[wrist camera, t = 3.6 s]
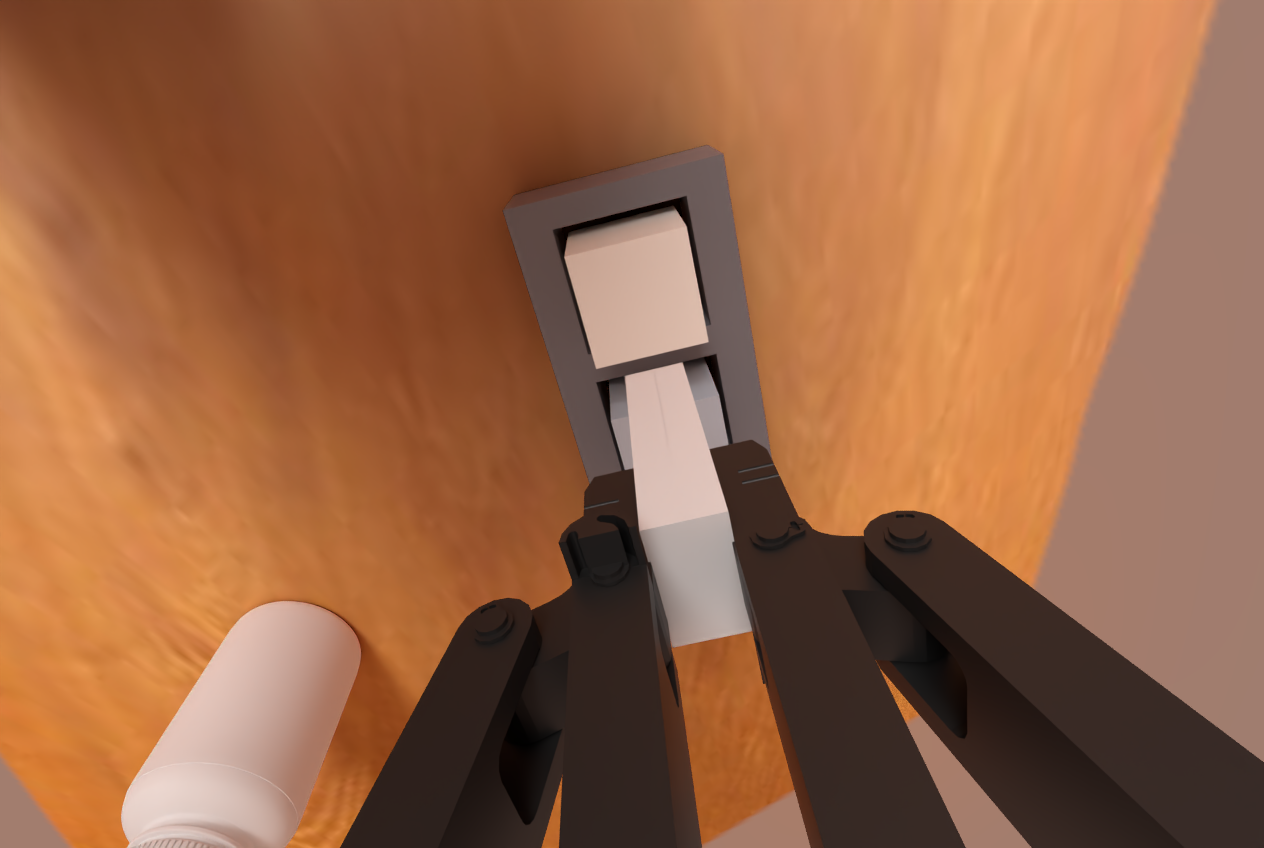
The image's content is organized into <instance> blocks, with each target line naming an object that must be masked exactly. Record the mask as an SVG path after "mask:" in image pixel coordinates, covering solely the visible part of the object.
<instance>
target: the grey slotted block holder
mask: <svg viewBox="0 0 1264 848" xmlns="http://www.w3.org/2000/svg"><path fill="white" fill-rule="evenodd" d="M676 198H679V201H680V206H681V211H682V216H683V221H684V223H685V225H686V227H687V232H688V237H689V242H690V247H691V253H692V258H693V263H694V268H695V273H696V278H697V284H698V289H699V294H700V299H701V304H702V310H703V315H704V320H705V325H706V330H707V336H708V341H709V342H707V343H703V344H699V345H694V346H690V347H686V348H682V349H678V350H674V351H669V352H665V353H661V354H657V355H653V356H648V357H644V358H640V359H636V360H632V361H628V362H623V363H619V364H615V365H611V366H607V367H603V368H598V369H596V367H595V363H594V360H593V356H592V353H591V349H590V346H589V342H588V339H587V335H586V332H585V328H584V324H583V321H582V317H581V314H580V310H579V307H578V303H577V300H576V296H575V293H574V289H573V286H572V282H571V279H570V275H569V272H568V268H567V265H566V261H565V258H564V256H565V250H566V242H565V239H564V235H563V231H562V227H566V226H570V225H574V224H577V223H581V222H585V221H589V220H593V219H597V218H601V217H605V216H609V215H613V214H617V213H621V212H625V211H629V210H633V209H636V208H640V207H644V206H648V205H652V204H656V203H660V202H664V201H668V200H672V199H676ZM503 213H504V216H505V220H506V223H507V226H508V229H509V232H510V235H511V238H512V242H513V245H514V248H515V251H516V254H517V257H518V260H519V264H520V267H521V270H522V273H523V276H524V279H525V282H526V286H527V289H528V292H529V295H530V298H531V301H532V304H533V308H534V311H535V314H536V317H537V320H538V323H539V326H540V330H541V333H542V336H543V339H544V342H545V345H546V348H547V352H548V355H549V358H550V361H551V364H552V367H553V370H554V374H555V377H556V380H557V383H558V386H559V389H560V392H561V396H562V399H563V402H564V405H565V408H566V411H567V414H568V417H569V421H570V424H571V427H572V430H573V433H574V436H575V439H576V443H577V446H578V449H579V452H580V455H581V458H582V461H583V465H584V468H585V471H586V474H587V477H588V480H589V483H591V481H592V480H593V478H594V477H596V476H601V475H605V474H610V473H614V472H618V471H623V470H625V469H624V465H623V461H622V458H621V454H620V451H619V447H618V444H617V440H616V437H615V433H614V430H613V426H612V423H611V413H610V399H609V395H608V392H607V388H606V385H605V381H604V380H609V379H613V378H617V377H621V376H625V375H630V374H634V373H638V372H642V371H646V370H651V369H655V368H659V367H663V366H667V365H672V364H676V363H680V362H684V361H688V360H693V359H697V358H701V357H705V356H709V355H710V361H711V366H712V371H713V376H714V381H715V386H716V389H717V392H718V394H719V398H720V403H721V408H722V414H723V419H724V424H725V429H726V434H727V439H728V445H730V444H734V443H738V442H743V441H747V440H754V441H755V442H757V443H758V444H760V445H761V446H763V447H765V448H766V449H767V450H768V452H769V455H770V457H771V451H770V445H769V439H768V432H767V426H766V420H765V413H764V407H763V401H762V395H761V388H760V382H759V376H758V369H757V363H756V357H755V350H754V344H753V338H752V331H751V325H750V319H749V313H748V306H747V300H746V294H745V287H744V281H743V275H742V268H741V262H740V256H739V249H738V243H737V237H736V231H735V224H734V218H733V212H732V205H731V199H730V193H729V186H728V180H727V174H726V167H725V161H724V155H723V153H721V152H719V151H718V150H716V149H714V148H712V147H711V146H709V145H705V146H701V147H698V148H694V149H690V150H686V151H682V152H678V153H674V154H671V155H667V156H663V157H659V158H655V159H651V160H647V161H644V162H640V163H636V164H632V165H628V166H624V167H620V168H616V169H613V170H609V171H605V172H601V173H597V174H593V175H589V176H586V177H582V178H578V179H574V180H570V181H566V182H562V183H559V184H555V185H551V186H547V187H543V188H539V189H535V190H532V191H528V192H524V193H520V194H516V195H513V197H512V198H511V199H510V201H509V202H508V204H507V205H506V206H505V208H504V209H503ZM771 459H772V458H771Z"/></svg>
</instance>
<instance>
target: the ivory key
mask: <svg viewBox="0 0 1264 848" xmlns="http://www.w3.org/2000/svg"><path fill="white" fill-rule="evenodd" d="M564 258H565V261H566V265H567V268H568V272H569V275H570V279H571V282H572V286H573V289H574V293H575V296H576V300H577V303H578V307H579V310H580V314H581V317H582V321H583V324H584V328H585V332H586V335H587V339H588V342H589V346H590V349H591V353H592V356H593V360H594V363H595V367H596V369H598V368H603V367H607V366H611V365H615V364H619V363H623V362H628V361H632V360H636V359H640V358H644V357H648V356H653V355H657V354H661V353H665V352H669V351H674V350H678V349H682V348H686V347H690V346H694V345H699V344H703V343H707V342H709V341H708V336H707V330H706V325H705V320H704V315H703V310H702V304H701V299H700V294H699V289H698V284H697V278H696V273H695V268H694V263H693V258H692V253H691V247H690V242H689V237H688V232H687V227H686V225H685V223H684V222H683V220H682V218H681V217H680V215H679V214H678V212H677V210H676V209H675V207H674V206H670V207H666V208H662V209H658V210H654V211H650V212H646V213H642V214H638V215H634V216H630V217H626V218H622V219H618V220H614V221H610V222H606V223H603V224H599V225H595V226H591V227H587V228H583V229H579V230H575V231H571V232H569V233H568V239H567V244H566V250H565V256H564Z"/></svg>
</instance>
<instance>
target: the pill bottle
mask: <svg viewBox="0 0 1264 848" xmlns="http://www.w3.org/2000/svg"><path fill="white" fill-rule="evenodd" d="M360 661H361V648H360V644H359V641H358V638H357V636H356V634H355V633H354V631H353V630H352V629H351V627H350V626H349V625H348V624H347V623H346V622H345V621H344V620H342V619H341V618H340V617H338V616H337V615H335V614H334V613H332V612H330V611H328V610H326V609H324V608H321V607H319V606H316V605H312V604H308V603H304V602H296V601H279V602H272V603H267V604H264V605H261V606H259V607H256V608H254V609H252V610H251V611H249V612H247V613H246V614H245V615H244V616H242V617H241V618H240V619H239V620H238V621H237V623H236V624H235V625H234V626H233V627H232V629H231V630H230V631H229V633H228V634H227V636H226V637H225V639H224V641H223V642H222V644H221V645H220V647H219V648H218V650H217V651H216V653H215V654H214V656H213V658H212V659H211V661H210V662H209V664H208V665H207V667H206V668H205V670H204V672H203V673H202V675H201V676H200V678H199V679H198V681H197V682H196V684H195V685H194V687H193V689H192V690H191V692H190V693H189V695H188V696H187V698H186V699H185V701H184V703H183V704H182V706H181V707H180V709H179V710H178V712H177V713H176V715H175V717H174V718H173V720H172V721H171V723H170V724H169V726H168V727H167V729H166V730H165V732H164V734H163V735H162V737H161V738H160V740H159V741H158V743H157V744H156V746H155V748H154V749H153V751H152V752H151V754H150V755H149V757H148V758H147V760H146V761H145V763H144V765H143V766H142V768H141V769H140V771H139V772H138V774H137V775H136V777H135V779H134V780H133V782H132V784H131V785H130V787H129V789H128V791H127V793H126V796H125V800H124V803H123V807H122V815H121V819H122V827H123V830H124V833H125V835H126V837H127V839H128V841H129V842H130V844H129V845H128V847H127V848H285V847H286V846H287V844H288V843H289V842H290V840H291V839H292V838H293V836H294V834H295V833H296V831H297V828H298V826H299V824H300V821H301V819H302V816H303V814H304V811H305V808H306V806H307V803H308V801H309V798H310V795H311V793H312V790H313V788H314V785H315V782H316V780H317V777H318V775H319V772H320V769H321V767H322V764H323V762H324V759H325V756H326V754H327V751H328V748H329V746H330V743H331V741H332V738H333V735H334V733H335V730H336V728H337V725H338V722H339V720H340V717H341V715H342V712H343V709H344V707H345V704H346V702H347V699H348V696H349V694H350V691H351V689H352V686H353V683H354V681H355V678H356V676H357V673H358V669H359V665H360Z"/></svg>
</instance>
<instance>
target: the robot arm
mask: <svg viewBox="0 0 1264 848" xmlns="http://www.w3.org/2000/svg"><path fill="white" fill-rule="evenodd" d="M625 382H626V393H627V404H628V414H629V425H630V436H631V447H632V457H633V468H632V469H627V470H623V471H618V472H614V473H610V474H605V475H601V476H596V477H594V478H593V480H592V481H591V483H590V484H589V486H588V488H587V489H586V491H585V496H584V508H585V510H584V516H583V517H582V518H580V519H578V520H577V521H575V522H573V523H572V524H570V526H569V527H568V528H567V529H566V530H565V531H564V532H563V533H562V535H561V538H560V541H559V545H560V548H561V551H562V554H563V556H564V559H565V562H566V565H567V568H568V570H569V573H570V576H571V579H572V586H571V587H570V589H568V590H567V591H566V592H564V593H563V594H562V595H561V596H559V597H557V598H555V599H554V600H552V601H550V602H548V603H546V604H544V605H542V606H539V607H537V608H535V609H533V610H531V609H530V607H529V605H528V604H526V603H525V602H523V601H522V600H520V599H512V598H505V599H500V600H494V601H492V602H490V603H487V604H485V605H483V606H481V607H479V608H478V609H476V610H475V611H474V612H472V613H471V614H470V615H469V616H467V617H466V619H465V620H464V621H463V623H462V624H461V625H460V626H459V628H458V630H457V631H456V633H455V635H454V637H453V639H452V641H451V643H450V644H449V646H448V648H447V650H446V652H445V654H444V656H443V657H442V659H441V661H440V663H439V665H438V667H437V669H436V670H435V672H434V674H433V676H432V678H431V680H430V682H429V683H428V685H427V687H426V689H425V691H424V693H423V695H422V696H421V698H420V700H419V702H418V704H417V706H416V708H415V709H414V711H413V713H412V715H411V717H410V719H409V721H408V722H407V724H406V726H405V728H404V730H403V732H402V734H401V735H400V737H399V739H398V741H397V743H396V745H395V747H394V748H393V750H392V752H391V754H390V756H389V758H388V760H387V761H386V763H385V765H384V767H383V769H382V771H381V773H380V774H379V776H378V778H377V780H376V782H375V784H374V786H373V787H372V789H371V791H370V793H369V795H368V797H367V799H366V800H365V802H364V804H363V806H362V808H361V810H360V812H359V813H358V815H357V817H356V819H355V821H354V823H353V825H352V826H351V828H350V830H349V832H348V834H347V836H346V838H345V839H344V841H343V843H342V845H341V847H340V848H541V847H542V843H543V840H544V837H545V833H546V830H547V826H548V823H549V819H550V816H551V812H552V809H553V805H554V802H555V798H556V795H557V792H558V788H559V785H560V781H561V778H562V798H561V818H560V839H559V848H702V844H701V837H700V829H699V822H698V815H697V808H696V801H695V794H694V786H693V779H692V772H691V765H690V758H689V750H688V743H687V736H686V729H685V722H684V715H683V707H682V700H681V693H680V686H679V679H678V672H677V668H676V664H675V661H674V657H673V654H672V650H671V643H672V647H673V648H674V647H678V646H683V645H688V644H693V643H698V642H702V641H707V640H712V639H717V638H722V637H726V636H731V635H736V634H741V633H746V632H750V631H753V636H754V641H755V646H756V651H757V655H758V660H759V665H760V670H761V675H762V680H763V684H766V688H767V691H768V695H769V698H770V702H771V706H772V709H773V713H774V716H775V720H776V724H777V727H778V731H779V734H780V738H781V742H782V745H783V749H784V752H785V756H786V760H787V763H788V767H789V771H790V774H791V778H792V781H793V785H794V789H795V792H796V796H797V799H798V803H799V807H800V810H801V814H802V817H803V821H804V824H805V828H806V832H807V835H808V839H809V843H810V846H811V848H966V847H965V846H964V843H963V841H962V839H961V837H960V835H959V833H958V831H957V829H956V827H955V824H954V822H953V821H952V818H951V816H950V814H949V812H948V810H947V808H946V806H945V804H944V802H943V800H942V797H941V795H940V793H939V791H938V789H937V787H936V785H935V783H934V781H933V779H932V777H931V775H930V772H929V770H928V768H927V766H926V764H925V762H924V760H923V758H922V756H921V754H920V752H919V750H918V748H917V745H916V744H915V741H914V739H913V737H912V735H911V733H910V731H909V729H908V727H907V725H906V723H905V720H904V718H903V716H902V714H901V712H900V710H899V708H898V706H897V704H896V702H895V700H894V698H893V695H892V693H891V691H890V689H889V687H888V685H887V683H886V681H885V679H884V677H883V675H882V673H881V671H880V669H881V670H882V671H883V672H884V673H885V675H886V676H887V677H888V678H889V679H890V680H891V682H892V683H893V684H894V685H895V686H896V688H897V689H898V690H899V691H900V692H901V693H902V695H903V696H904V697H905V698H906V699H907V701H908V702H909V703H910V704H911V705H912V706H913V708H914V709H915V710H916V711H917V712H918V714H919V715H920V716H921V717H922V718H923V719H924V721H925V722H926V723H927V724H928V725H929V726H930V728H931V729H932V730H933V731H934V732H935V734H936V735H937V736H938V737H939V738H940V740H941V741H942V742H943V743H944V744H945V745H946V747H947V748H948V749H949V750H950V751H951V753H952V754H953V755H954V756H955V757H956V759H957V760H958V761H959V762H960V763H961V764H962V766H963V767H964V768H965V769H966V770H967V771H968V773H969V774H970V775H971V776H972V777H973V779H974V780H975V781H976V782H977V783H978V785H979V786H980V787H981V788H982V789H983V790H984V792H985V793H986V794H987V795H988V796H989V798H990V799H991V800H992V801H993V802H994V803H995V805H996V806H997V807H998V808H999V809H1000V811H1001V812H1002V813H1003V814H1004V815H1005V817H1006V818H1007V819H1008V820H1009V821H1010V822H1011V824H1012V825H1013V826H1014V827H1015V828H1016V829H1017V831H1018V832H1019V833H1020V834H1021V835H1022V837H1023V838H1024V839H1025V840H1026V841H1027V843H1028V844H1029V845H1030V846H1031V847H1032V848H1264V762H1263V761H1261V760H1260V759H1259V758H1257V757H1256V756H1254V755H1253V754H1252V753H1250V752H1249V751H1248V750H1247V749H1245V748H1244V747H1243V746H1241V745H1240V744H1239V743H1237V742H1236V741H1235V740H1233V739H1232V738H1231V737H1229V736H1228V735H1227V734H1225V733H1224V732H1223V731H1222V730H1220V729H1219V728H1218V727H1216V726H1215V725H1214V724H1212V723H1211V722H1210V721H1208V720H1207V719H1206V718H1204V717H1203V716H1201V715H1200V714H1199V713H1198V712H1196V711H1195V710H1193V709H1192V708H1191V707H1190V706H1188V705H1187V704H1185V703H1184V702H1183V701H1182V700H1180V699H1179V698H1178V697H1176V696H1175V695H1173V694H1172V693H1171V692H1170V691H1168V690H1167V689H1166V688H1164V687H1163V686H1162V685H1160V684H1159V683H1158V682H1156V681H1155V680H1154V679H1152V678H1151V677H1150V676H1148V675H1147V674H1146V673H1144V672H1143V671H1142V670H1140V669H1139V668H1138V667H1136V666H1135V665H1134V664H1132V663H1131V662H1130V661H1129V660H1127V659H1126V658H1124V657H1123V656H1122V655H1120V654H1119V653H1118V652H1116V651H1115V650H1114V649H1113V648H1111V647H1110V646H1109V645H1107V644H1106V643H1104V642H1103V641H1102V640H1101V639H1099V638H1098V637H1097V636H1095V635H1094V634H1093V633H1091V632H1090V631H1089V630H1087V629H1086V628H1085V627H1083V626H1082V625H1081V624H1079V623H1078V622H1077V621H1075V620H1074V619H1073V618H1071V617H1070V616H1069V615H1067V614H1066V613H1065V612H1063V611H1062V610H1061V609H1059V608H1058V607H1057V606H1055V605H1054V604H1053V603H1051V602H1050V601H1049V600H1047V599H1046V598H1045V597H1043V596H1042V595H1041V594H1039V593H1038V592H1037V591H1035V590H1034V589H1033V588H1032V587H1030V586H1029V585H1028V584H1026V583H1025V582H1024V581H1022V580H1021V579H1020V578H1018V577H1017V576H1016V575H1014V574H1013V573H1012V572H1010V571H1009V570H1008V569H1006V568H1005V567H1004V566H1002V565H1001V564H1000V563H998V562H997V561H996V560H994V559H993V558H992V557H990V556H989V555H988V554H986V553H985V552H984V551H982V550H981V549H980V548H978V547H977V546H976V545H974V544H973V543H972V542H970V541H969V540H968V539H966V538H965V537H964V536H962V535H961V534H960V533H958V532H957V531H956V530H954V529H953V528H952V527H950V526H949V525H948V524H946V523H945V522H944V521H942V520H940V519H938V518H936V517H934V516H932V515H930V514H926V513H922V512H917V511H895V512H891V513H887V514H882V515H880V516H879V517H877V518H875V519H874V520H872V521H870V523H869V524H868V525H867V527H866V528H865V530H864V536H836V535H829V534H825V533H821V532H818V531H816V530H814V529H812V527H811V526H810V525H809V524H808V523H807V522H806V520H805V519H802V518H800V517H799V516H798V514H797V512H796V510H795V508H794V506H793V504H792V502H791V499H790V497H789V495H788V493H787V491H786V489H785V487H784V484H783V482H782V480H781V478H780V476H779V474H778V472H777V470H776V467H775V465H774V464H773V461H772V459H771V457H770V455H769V452H768V450H767V449H766V448H765V447H763V446H761V445H760V444H758V443H757V442H755V441H754V440H747V441H743V442H738V443H734V444H730V445H725V446H721V447H716V448H712V449H709V447H708V444H707V440H706V437H705V434H704V431H703V427H702V424H701V421H700V418H699V414H698V411H697V408H696V405H695V401H694V398H693V395H692V392H691V388H690V385H689V382H688V379H687V375H686V372H685V369H684V366H683V362H682V363H678V364H674V365H669V366H665V367H661V368H657V369H653V370H648V371H644V372H640V373H636V374H632V375H627V376H625ZM670 640H671V642H670ZM876 661H877V662H876ZM877 663H878V664H877ZM878 665H879V666H878ZM879 667H880V668H879ZM562 774H563V777H562Z"/></svg>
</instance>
